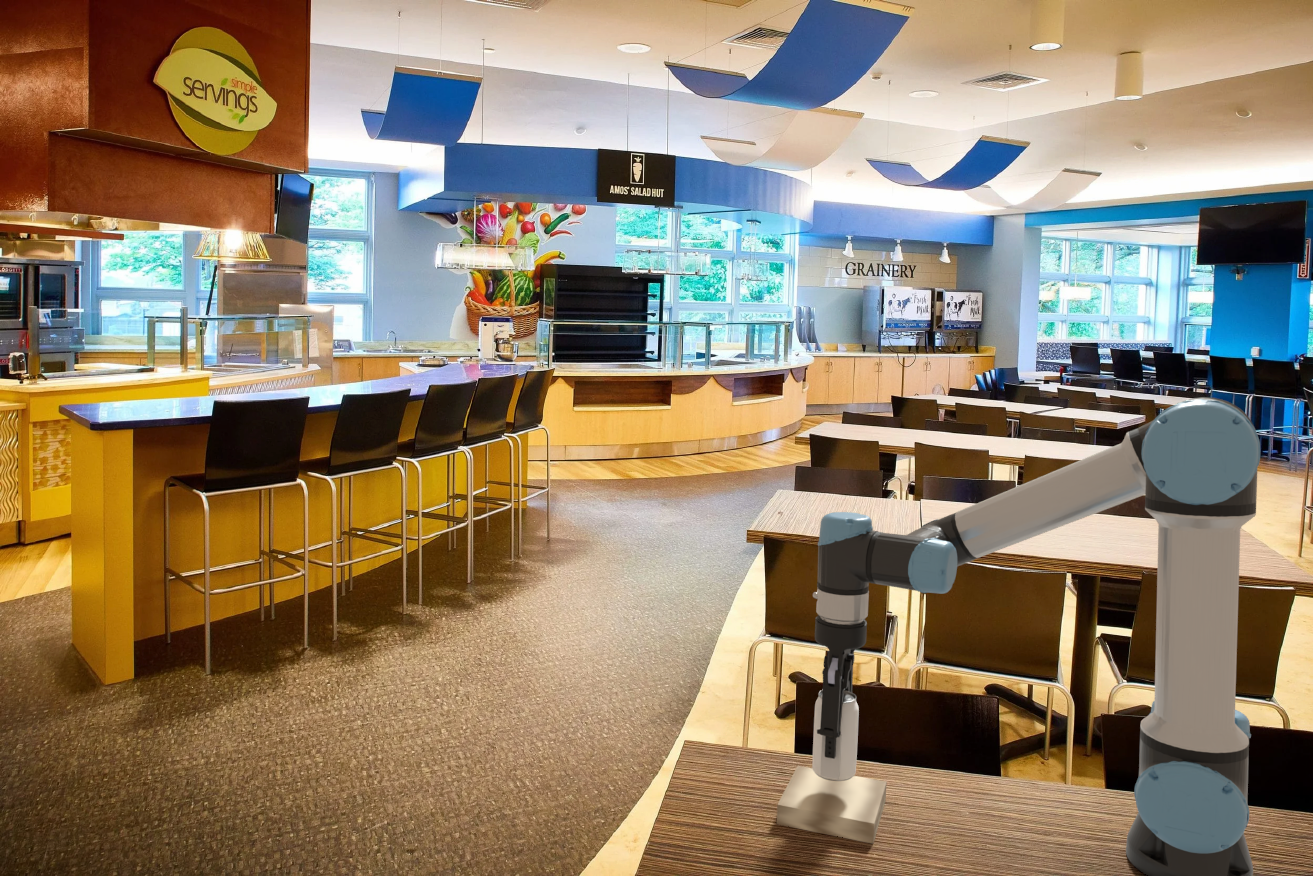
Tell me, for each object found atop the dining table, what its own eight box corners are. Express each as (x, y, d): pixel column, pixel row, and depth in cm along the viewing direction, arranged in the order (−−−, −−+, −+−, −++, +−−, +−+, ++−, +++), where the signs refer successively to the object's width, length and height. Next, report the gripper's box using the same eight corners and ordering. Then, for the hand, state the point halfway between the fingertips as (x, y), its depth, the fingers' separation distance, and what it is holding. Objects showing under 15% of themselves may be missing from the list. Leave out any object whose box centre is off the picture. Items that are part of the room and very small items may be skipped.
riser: (885, 800, 146) (886, 781, 146) (873, 843, 133) (874, 823, 133) (796, 783, 151) (797, 765, 151) (776, 824, 138) (777, 804, 138)
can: (859, 783, 138) (863, 704, 137) (815, 781, 138) (818, 702, 137) (851, 763, 145) (854, 688, 143) (809, 762, 145) (812, 686, 144)
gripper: (827, 598, 149) (821, 737, 152) (802, 631, 131) (796, 789, 134) (875, 604, 147) (868, 746, 149) (856, 639, 129) (849, 799, 131)
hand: (834, 766), depth 141 cm, fingers closed on can, 6 cm apart
